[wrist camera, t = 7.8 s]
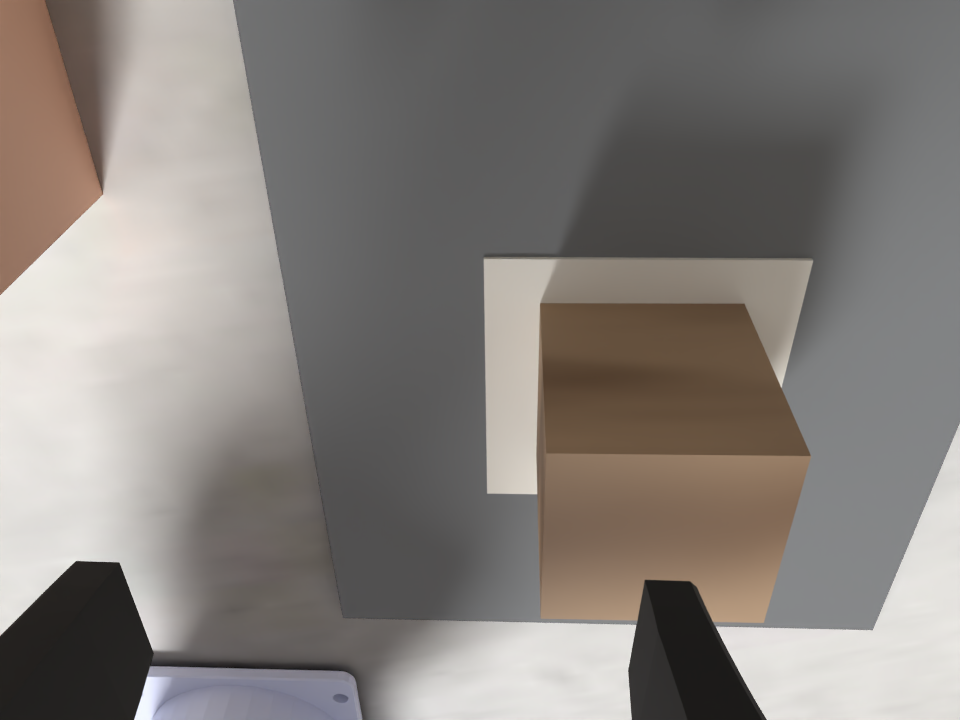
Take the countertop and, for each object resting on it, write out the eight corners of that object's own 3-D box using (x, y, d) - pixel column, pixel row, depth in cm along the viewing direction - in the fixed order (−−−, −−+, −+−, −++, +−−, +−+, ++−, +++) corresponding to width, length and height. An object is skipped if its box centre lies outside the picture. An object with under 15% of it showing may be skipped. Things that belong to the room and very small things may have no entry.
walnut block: (714, 456, 20) (763, 622, 16) (536, 454, 21) (540, 618, 17) (744, 303, 18) (811, 456, 14) (540, 303, 18) (546, 453, 14)
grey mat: (867, 618, 25) (873, 632, 24) (345, 607, 25) (342, 620, 25) (1133, -29, 14) (1151, -25, 14) (236, -21, 15) (227, -16, 15)
